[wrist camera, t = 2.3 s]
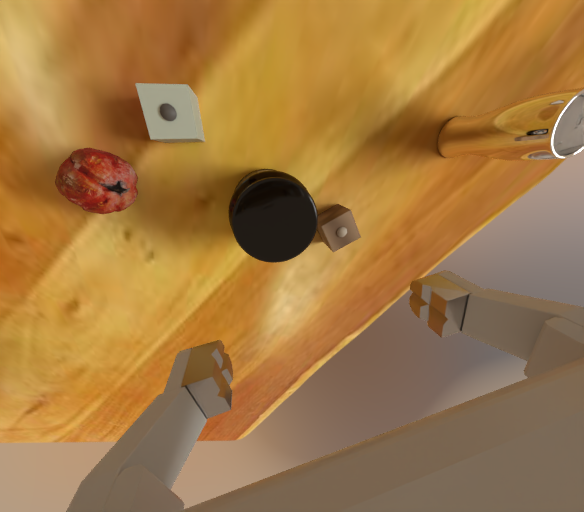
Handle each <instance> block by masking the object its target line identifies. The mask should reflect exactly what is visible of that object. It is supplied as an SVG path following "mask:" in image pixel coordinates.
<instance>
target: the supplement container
mask: <svg viewBox="0 0 584 512" xmlns="http://www.w3.org/2000/svg"><path fill="white" fill-rule="evenodd" d="M229 221H230V225H231V228H232V231H233V233H234V236H235V238H236V240H237V242H238V244H239V245H240V246H241V248H242V249H243V250H244V251H245V252H246V253H248V254H249V255H250V256H252V257H254V258H256V259H258V260H261V261H265V262H283V261H287V260H290V259H292V258H294V257H296V256H298V255H299V254H300V253H302V252H303V251H304V250H305V249H306V248H307V247H308V246H309V244H310V243H311V241H312V240H313V238H314V236H315V233H316V229H317V224H318V214H317V209H316V206H315V203H314V201H313V199H312V197H311V196H310V194H309V193H308V191H307V189H306V188H305V187H304V185H303V184H302V183H301V182H300V181H299V180H297V179H296V178H295V177H293V176H291V175H289V174H287V173H284V172H280V171H276V170H272V169H260V170H256V171H253V172H251V173H249V174H248V175H246V176H245V177H244V178H243V179H242V180H241V181H240V182H239V183H238V185H237V187H236V189H235V191H234V193H233V196H232V198H231V201H230V205H229Z"/></svg>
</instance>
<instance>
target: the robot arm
mask: <svg viewBox="0 0 584 512" xmlns="http://www.w3.org/2000/svg"><path fill="white" fill-rule="evenodd" d="M410 290H411V291H412V292H413V293H412V295H411V296H410V303H409V304H410V307H411V309H412V311H413V312H414V314H415V315H416V316H417V317H418V318H420V319H423V320H425V321H427V323H428V326H429V327H430V328H431V329H432V330H433V331H434V332H436V333H437V334H438V335H439V336H440V337H441V338H443V337H446V336H449V335H452V334H456V333H459V332H462V333H463V334H465V335H467V336H470V337H472V338H475V339H477V340H479V341H482V342H484V343H486V344H489V345H491V346H493V347H496V348H498V349H500V350H503V351H505V352H507V353H510V354H512V355H514V356H517V357H519V358H521V359H524V360H526V361H528V362H527V365H526V367H525V369H524V374H525V375H526V376H527V377H528V378H527V379H525V380H522V381H519V382H517V383H514V384H511V385H509V386H506V387H504V388H501V389H498V390H496V391H493V392H490V393H488V394H485V395H483V396H480V397H477V398H475V399H472V400H469V401H467V402H464V403H462V404H459V405H456V406H454V407H451V408H449V409H446V410H443V411H441V412H438V413H436V414H433V415H430V416H428V417H425V418H422V419H420V420H417V421H415V422H412V423H409V424H407V425H404V426H401V427H399V428H396V429H393V430H391V431H389V432H386V433H383V434H380V435H378V436H375V437H372V438H370V439H367V440H365V441H362V442H360V443H357V444H354V445H352V446H349V447H347V448H344V449H341V450H339V451H336V452H333V453H331V454H328V455H325V456H323V457H320V458H318V459H315V460H312V461H310V462H307V463H304V464H302V465H299V466H297V467H294V468H291V469H289V470H286V471H284V472H281V473H278V474H276V475H273V476H270V477H268V478H265V479H263V480H260V481H258V482H255V483H252V484H250V485H247V486H245V487H242V488H239V489H237V490H234V491H231V492H229V493H226V494H224V495H221V496H218V497H216V498H213V499H211V500H208V501H205V502H202V503H200V504H197V505H195V506H192V507H190V508H187V509H184V503H183V501H182V500H181V499H180V498H179V497H178V496H177V495H176V494H175V493H173V492H172V491H171V488H172V486H173V484H174V482H175V480H176V478H177V476H178V475H179V473H180V471H181V469H182V467H183V465H184V463H185V461H186V459H187V457H188V456H189V453H190V452H191V450H192V448H193V446H194V444H195V442H196V441H197V439H198V437H199V435H200V433H201V431H202V429H203V427H204V425H205V423H206V422H207V419H208V418H210V417H213V416H216V415H218V414H221V413H224V412H226V411H229V410H231V401H232V390H231V388H230V386H229V385H230V383H231V381H232V380H233V370H232V363H231V360H230V357H229V355H228V354H226V353H224V345H223V343H222V341H221V340H217V341H214V342H210V343H206V344H203V345H199V346H196V347H193V348H190V349H186V350H182V351H180V352H179V353H178V354H177V356H176V359H175V362H174V364H173V367H172V370H171V373H170V376H169V379H168V381H167V384H166V387H165V390H164V393H163V394H160V395H158V396H157V397H156V399H155V400H154V401H153V402H152V403H151V404H150V405H149V406H148V408H147V409H146V410H145V411H144V412H143V413H142V414H141V416H140V417H139V418H138V419H137V420H136V421H135V422H134V423H133V425H132V426H131V427H130V428H129V429H128V430H127V431H126V432H125V434H124V435H123V436H122V437H121V438H120V439H119V440H118V441H117V443H116V444H115V445H114V446H113V447H112V448H111V450H109V452H108V453H107V454H106V455H105V456H104V457H103V459H101V461H100V462H99V463H98V464H97V465H96V466H95V467H94V469H93V470H92V471H91V472H90V473H89V474H88V475H87V476H86V478H85V479H84V480H83V481H82V482H81V484H80V486H79V488H78V490H77V492H76V494H75V496H74V497H73V500H72V501H71V504H70V505H69V507H68V509H67V511H66V512H584V307H580V306H575V305H570V304H565V303H560V302H555V301H549V300H544V299H539V298H534V297H529V296H523V295H518V294H513V293H508V292H503V291H498V290H493V289H485V290H484V289H483V288H480V287H479V286H477V285H475V284H473V283H471V282H469V281H467V280H465V279H463V278H461V277H460V276H458V275H456V274H454V273H452V272H450V271H441V272H438V273H435V274H433V275H430V276H426V277H423V278H420V279H417V280H414V281H412V282H411V284H410Z"/></svg>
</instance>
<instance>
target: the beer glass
mask: <svg viewBox="0 0 584 512" xmlns="http://www.w3.org/2000/svg"><path fill="white" fill-rule="evenodd" d="M583 149H584V88H578V89H571V90H564V91H558V92H552V93H547V94H542V95H538V96H534V97H530V98H526V99H523V100H520V101H517V102H514V103H511V104H508V105H506V106H503V107H500V108H498V109H495V110H493V111H490V112H487V113H484V114H481V115H477V116H457V117H454V118H452V119H451V120H449V121H448V122H447V123H446V124H445V125H444V126H443V128H442V130H441V132H440V134H439V137H438V150H439V152H440V154H441V155H442V156H443V157H446V158H453V157H458V156H462V155H476V156H482V157H487V158H493V159H499V160H509V161H530V160H546V159H565V158H569V157H571V156H574V155H575V154H577V153H578V152H580V151H581V150H583Z"/></svg>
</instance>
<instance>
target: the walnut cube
mask: <svg viewBox="0 0 584 512" xmlns="http://www.w3.org/2000/svg"><path fill="white" fill-rule="evenodd" d="M317 229H318V232H319V234H320V236H321V238H322V240H323V242H324V243H325V244H326V245H327V246H328V247H329V248H330V249H331V250H332V251H333V252H335V251H337V250H338V249H340V248H342V247H344V246H346V245H348V244H349V243H351V242H353V241H355V240H357V239H358V238H360V237H361V236H360V234H359V231H358V228H357V226H356V223H355V220H354V218H353V215H352V212H351V210H350V209H348V208H345V207H343V206H341V205H339V204H337V205H335V206H333V207H332V208H330V209H328V210H326V211H325V212H323V213H321V214H319V215H318V224H317Z"/></svg>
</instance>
